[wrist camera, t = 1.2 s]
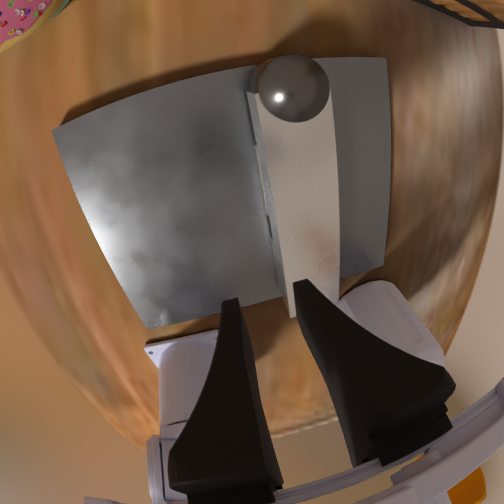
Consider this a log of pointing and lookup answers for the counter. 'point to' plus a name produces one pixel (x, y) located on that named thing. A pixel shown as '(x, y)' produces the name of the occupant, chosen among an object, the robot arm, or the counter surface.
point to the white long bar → (298, 170)
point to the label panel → (217, 187)
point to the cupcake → (25, 18)
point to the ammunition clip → (471, 11)
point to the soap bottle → (409, 340)
